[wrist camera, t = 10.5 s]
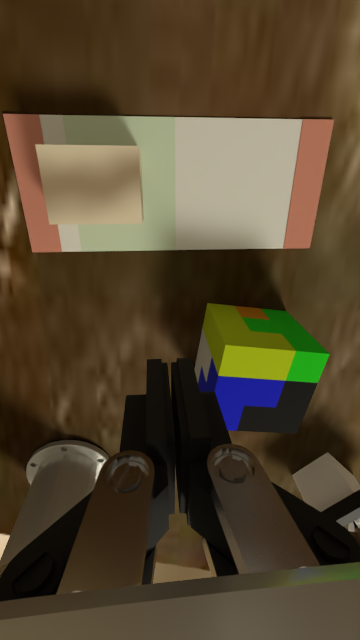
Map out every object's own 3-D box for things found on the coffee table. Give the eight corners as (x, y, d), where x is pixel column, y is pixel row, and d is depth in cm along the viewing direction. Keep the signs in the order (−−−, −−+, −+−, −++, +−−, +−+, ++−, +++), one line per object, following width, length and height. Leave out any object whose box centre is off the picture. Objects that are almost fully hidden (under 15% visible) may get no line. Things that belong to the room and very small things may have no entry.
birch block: (143, 218, 30) (142, 223, 26) (63, 218, 29) (49, 224, 25) (140, 151, 28) (138, 145, 23) (53, 150, 27) (35, 144, 23)
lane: (282, 248, 33) (283, 248, 33) (62, 251, 31) (62, 251, 31) (302, 119, 28) (302, 119, 27) (39, 114, 26) (38, 114, 26)
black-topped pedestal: (212, 477, 49) (231, 574, 37) (347, 383, 42) (423, 463, 30) (303, 538, 59) (341, 629, 47) (423, 469, 52) (504, 555, 40)
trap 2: (62, 251, 31) (61, 251, 31) (33, 251, 31) (32, 252, 31) (39, 114, 26) (38, 114, 26) (3, 114, 26) (2, 113, 25)
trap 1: (308, 247, 33) (309, 248, 33) (282, 248, 33) (283, 248, 32) (333, 120, 28) (334, 119, 28) (302, 119, 28) (303, 119, 27)
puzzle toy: (193, 372, 39) (205, 429, 30) (207, 302, 35) (225, 344, 26) (264, 377, 40) (296, 433, 31) (286, 310, 36) (329, 353, 27)
